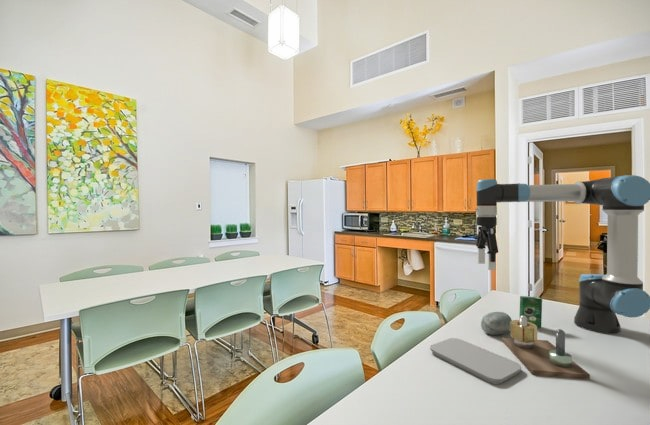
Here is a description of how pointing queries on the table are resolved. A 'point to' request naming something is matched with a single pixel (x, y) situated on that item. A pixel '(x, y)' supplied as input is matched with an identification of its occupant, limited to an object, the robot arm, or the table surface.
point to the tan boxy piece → (523, 331)
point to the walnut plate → (543, 360)
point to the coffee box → (531, 309)
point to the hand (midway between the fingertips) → (486, 266)
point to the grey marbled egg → (496, 323)
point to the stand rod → (523, 344)
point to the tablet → (476, 360)
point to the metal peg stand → (560, 352)
